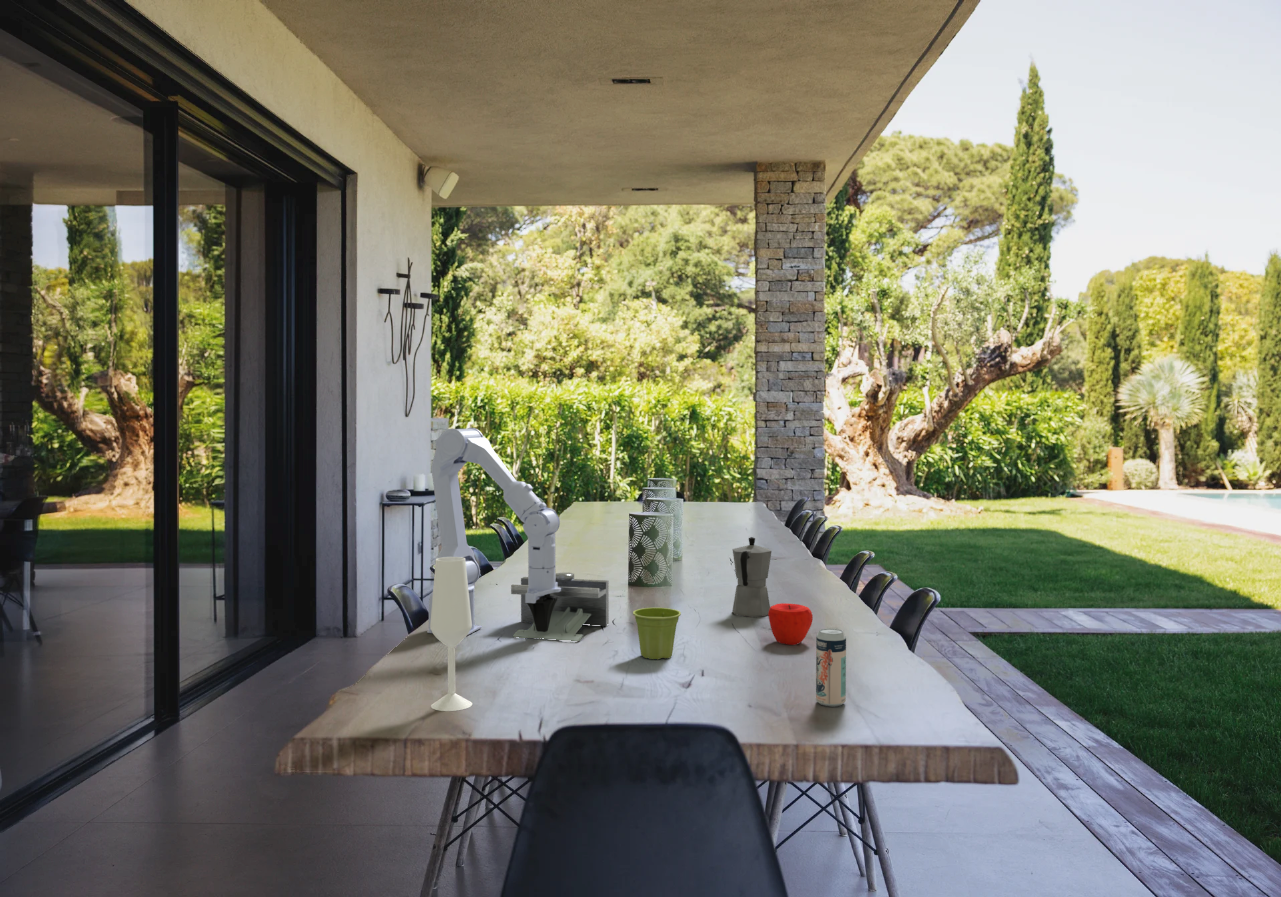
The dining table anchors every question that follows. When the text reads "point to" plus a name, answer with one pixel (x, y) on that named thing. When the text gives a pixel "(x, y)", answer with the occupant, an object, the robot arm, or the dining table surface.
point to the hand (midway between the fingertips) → (542, 631)
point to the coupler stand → (573, 598)
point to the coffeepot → (751, 580)
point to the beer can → (831, 667)
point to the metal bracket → (559, 626)
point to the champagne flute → (451, 620)
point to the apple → (790, 622)
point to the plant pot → (656, 631)
